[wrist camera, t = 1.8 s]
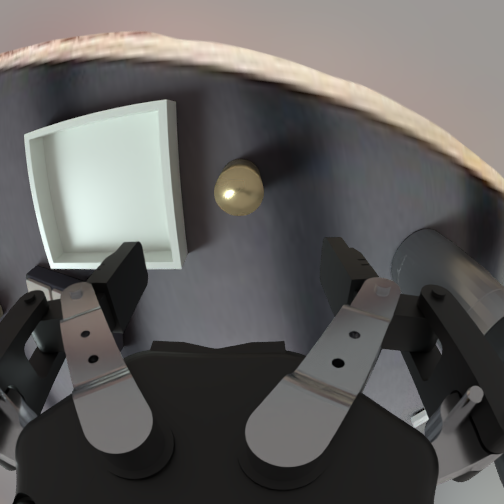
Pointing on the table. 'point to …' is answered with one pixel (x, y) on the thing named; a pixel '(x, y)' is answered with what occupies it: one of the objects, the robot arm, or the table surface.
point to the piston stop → (239, 188)
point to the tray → (109, 186)
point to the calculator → (57, 289)
